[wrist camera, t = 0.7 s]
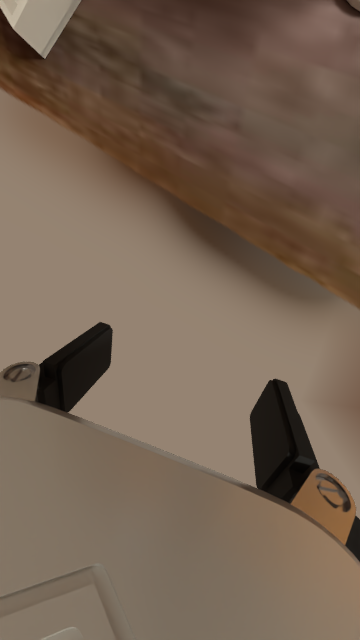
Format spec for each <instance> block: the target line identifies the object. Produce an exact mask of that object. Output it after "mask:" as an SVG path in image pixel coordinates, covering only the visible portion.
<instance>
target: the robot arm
mask: <svg viewBox="0 0 360 640" xmlns="http://www.w3.org/2000/svg"><path fill="white" fill-rule="evenodd" d="M347 1H348V2H349V4H350V5H351V6H352V7H354V8H355V9H357V10H358V11H360V0H347ZM112 331H113V330H112V328H111V327H110V325H108V324H105V323H102V322H100V323H98V324H97V325H95V326H94V327H92V328H91V329H89V330H88V331H86V332H85V333H83V334H82V335H80V336H79V337H78V338H76V339H74V340H73V341H72V342H70V343H69V344H67V345H66V346H64V347H63V348H61V349H60V350H58V351H57V352H56V353H54V354H53V355H51V356H50V357H48V358H47V359H45V360H44V361H43V362H42V363H41V364H39V365H38V364H36V363H34V362H20V363H16V364H13V365H10V366H8V367H7V368H5V369H4V370H3V371H2V372H1V373H0V640H360V519H359V518H358V517H357V516H356V505H355V502H354V500H353V498H352V496H351V494H350V492H349V491H348V490H347V488H346V487H345V486H344V485H343V484H342V482H341V481H340V480H339V479H338V478H336V477H335V476H334V475H333V474H331V473H329V472H328V471H326V470H323V469H320V468H319V465H318V463H317V460H316V457H315V455H314V452H313V449H312V447H311V444H310V441H309V439H308V436H307V433H306V431H305V428H304V425H303V423H302V420H301V417H300V415H299V414H298V412H297V409H296V406H295V404H294V401H293V399H292V396H291V393H290V390H289V387H288V385H287V383H286V382H284V381H281V380H278V379H273V381H272V380H270V381H269V382H268V384H267V385H266V387H265V389H264V391H263V392H262V394H261V396H260V398H259V399H258V401H257V403H256V405H255V406H254V408H253V410H252V412H251V415H250V423H251V434H252V444H253V456H254V465H255V476H256V485H257V488H258V489H257V488H255V487H252V486H250V485H248V484H245V483H243V482H241V481H238V480H236V479H234V478H231V477H229V476H226V475H224V474H221V473H219V472H216V471H214V470H211V469H209V468H206V467H204V466H201V465H199V464H196V463H194V462H192V461H189V460H186V459H184V458H181V457H179V456H176V455H174V454H172V453H169V452H167V451H164V450H161V449H159V448H156V447H154V446H151V445H149V444H146V443H144V442H141V441H139V440H136V439H133V438H131V437H128V436H126V435H123V434H121V433H119V432H116V431H113V430H111V429H108V428H106V427H103V426H101V425H98V424H95V423H93V422H90V421H88V420H85V419H83V418H80V417H77V416H75V415H72V414H69V413H68V412H69V411H70V410H71V409H72V408H73V407H74V406H75V405H76V404H77V402H78V401H79V400H80V399H81V398H82V397H83V396H84V395H85V394H86V392H87V391H88V390H89V389H90V388H91V387H92V386H93V385H94V384H95V383H96V381H97V380H98V379H99V378H100V377H101V376H102V375H103V374H104V373H105V372H106V370H107V369H108V368H109V366H110V363H111V347H112Z"/></svg>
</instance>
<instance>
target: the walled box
mask: <svg viewBox="0 0 360 640" xmlns="http://www.w3.org/2000/svg"><path fill="white" fill-rule="evenodd" d="M80 2H81V0H0V8H1V9H2V11H3V13H4V14H5V16H6V18H7V19H8V21H9V23H10V25H11V26H12V28H13V29H14V30H15V31H16V32H17V33H18V34H19V35H20V36H21V37H22V38H23V39H24V40H25V41H26V42H27V43H28V44H29V45H31V46H32V47H33V48H34V49H35V50H36V51H37V52H38V53H39V54H40V55H41V56H42V57H43V58H44V59H45V58H46V56H47V55H48V53H49V52H50V50H51V48H52V47H53V45H54V43H55V42H56V40H57V39H58V37H59V35H60V34H61V32H62V31H63V29H64V27H65V26H66V24H67V23H68V21H69V19H70V18H71V16H72V15H73V13H74V11H75V10H76V8H77V7H78V5H79V3H80Z"/></svg>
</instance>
